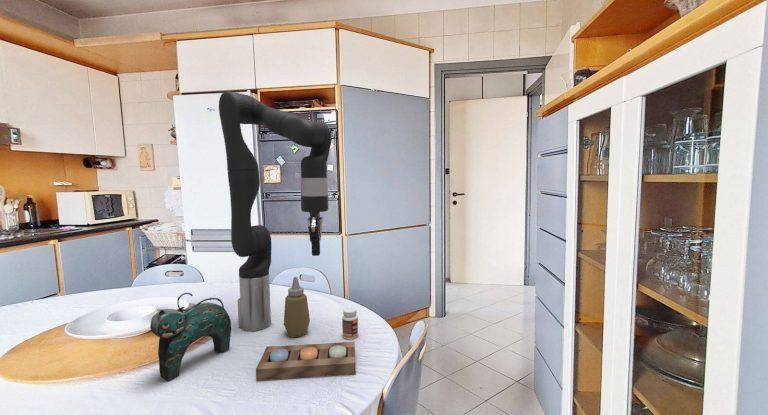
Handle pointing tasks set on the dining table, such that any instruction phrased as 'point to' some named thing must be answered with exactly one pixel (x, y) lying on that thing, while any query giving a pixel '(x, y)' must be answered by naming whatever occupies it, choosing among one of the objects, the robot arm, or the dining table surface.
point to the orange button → (308, 353)
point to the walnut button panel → (306, 363)
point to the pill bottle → (350, 323)
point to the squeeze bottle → (296, 311)
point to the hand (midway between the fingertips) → (316, 255)
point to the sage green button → (337, 352)
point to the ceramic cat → (188, 332)
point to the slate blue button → (279, 355)
